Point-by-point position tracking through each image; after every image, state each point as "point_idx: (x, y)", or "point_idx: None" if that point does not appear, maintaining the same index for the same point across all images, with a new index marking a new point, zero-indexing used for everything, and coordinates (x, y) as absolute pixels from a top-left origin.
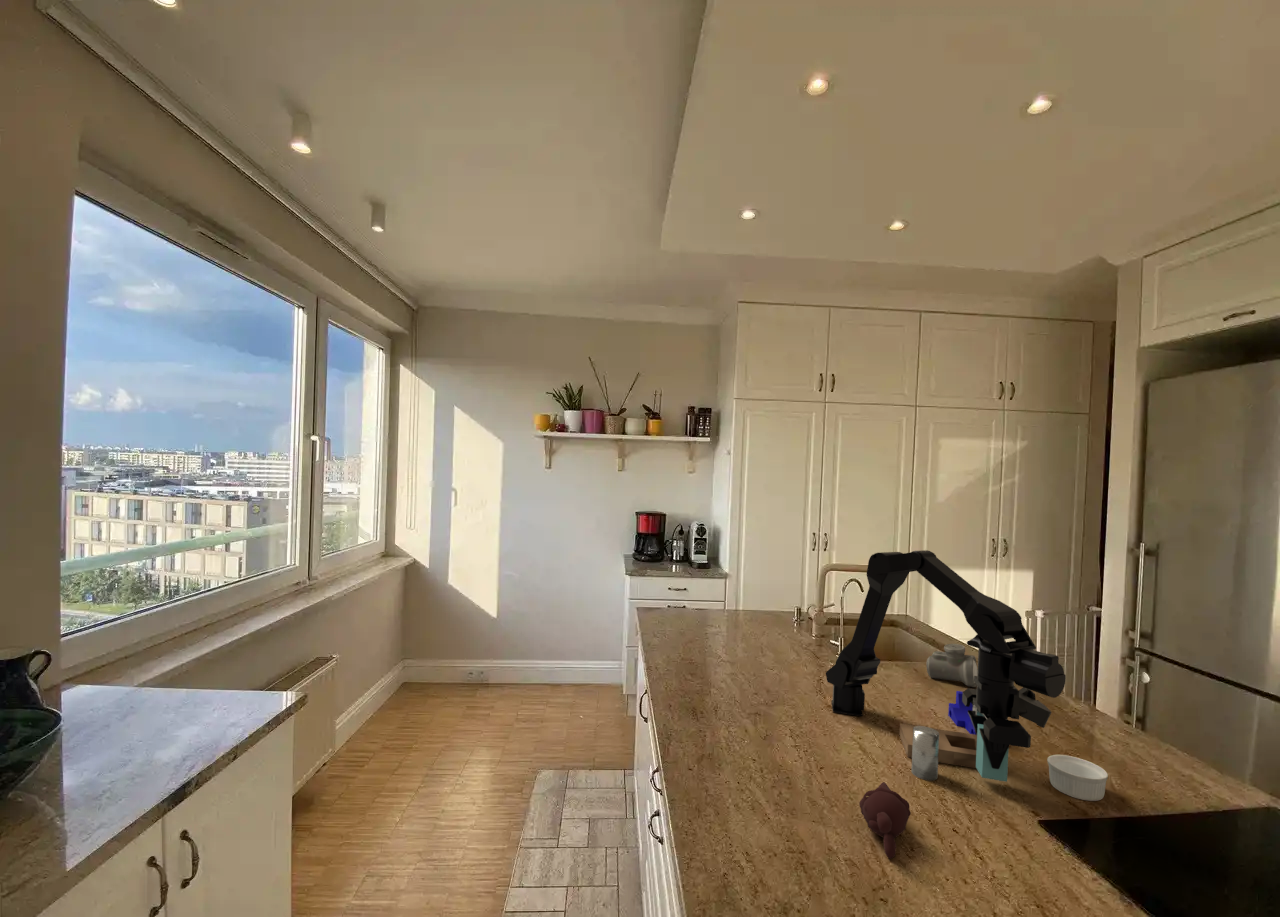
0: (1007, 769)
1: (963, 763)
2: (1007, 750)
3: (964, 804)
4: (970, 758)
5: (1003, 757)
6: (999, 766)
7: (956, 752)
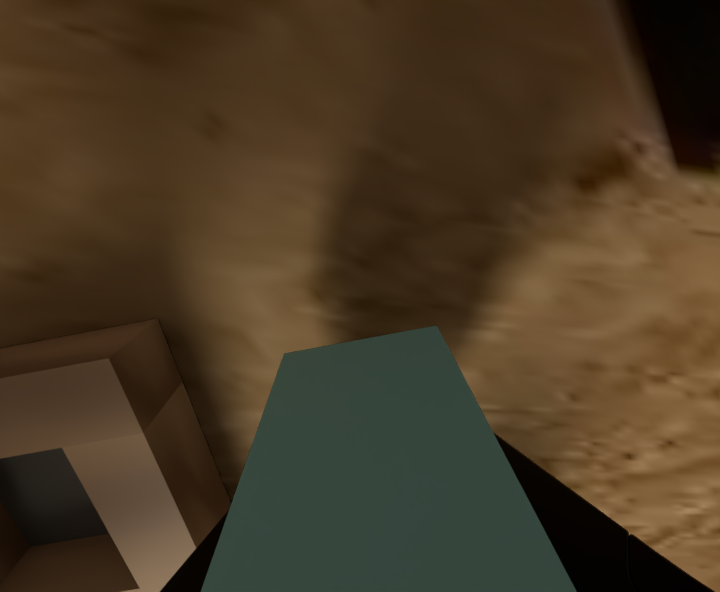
0: (460, 370)
1: (213, 483)
2: (529, 518)
3: (631, 474)
4: (188, 483)
5: (587, 502)
6: (499, 440)
7: None
